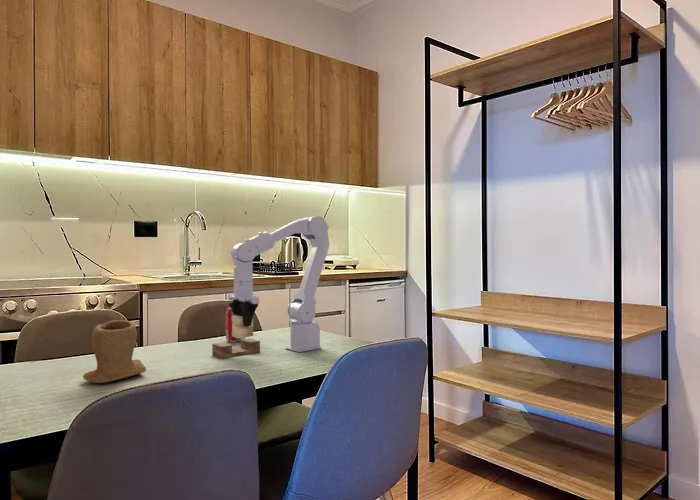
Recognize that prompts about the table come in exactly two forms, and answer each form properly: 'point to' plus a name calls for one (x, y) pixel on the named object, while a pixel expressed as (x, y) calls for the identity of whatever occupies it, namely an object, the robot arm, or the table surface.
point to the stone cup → (114, 352)
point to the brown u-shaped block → (227, 351)
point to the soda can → (230, 327)
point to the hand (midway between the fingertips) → (243, 325)
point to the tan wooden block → (240, 327)
